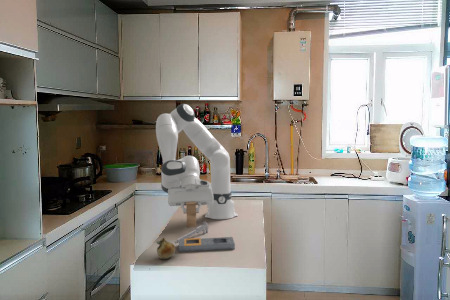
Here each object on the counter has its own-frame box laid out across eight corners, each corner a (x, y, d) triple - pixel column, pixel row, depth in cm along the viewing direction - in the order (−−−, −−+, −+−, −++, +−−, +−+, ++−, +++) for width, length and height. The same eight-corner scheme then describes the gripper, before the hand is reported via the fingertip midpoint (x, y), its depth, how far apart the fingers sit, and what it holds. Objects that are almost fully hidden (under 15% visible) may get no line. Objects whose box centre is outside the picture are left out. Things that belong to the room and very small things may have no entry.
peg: (186, 224, 167) (186, 202, 166) (196, 224, 167) (195, 201, 167) (186, 227, 163) (186, 204, 162) (196, 226, 163) (195, 203, 163)
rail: (179, 245, 170) (179, 238, 170) (232, 242, 172) (232, 236, 172) (178, 251, 161) (178, 245, 161) (234, 249, 163) (234, 242, 163)
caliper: (206, 232, 188) (206, 220, 188) (208, 233, 188) (207, 220, 187) (174, 243, 174) (174, 229, 173) (176, 243, 173) (175, 230, 172)
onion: (156, 262, 149) (155, 242, 149) (156, 255, 157) (155, 236, 157) (175, 261, 151) (175, 241, 150) (174, 254, 159) (174, 235, 158)
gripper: (167, 183, 170) (166, 209, 161) (212, 181, 172) (214, 208, 163) (168, 191, 174) (167, 217, 166) (212, 189, 176) (214, 215, 167)
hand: (191, 212), depth 164 cm, fingers closed on peg, 4 cm apart
